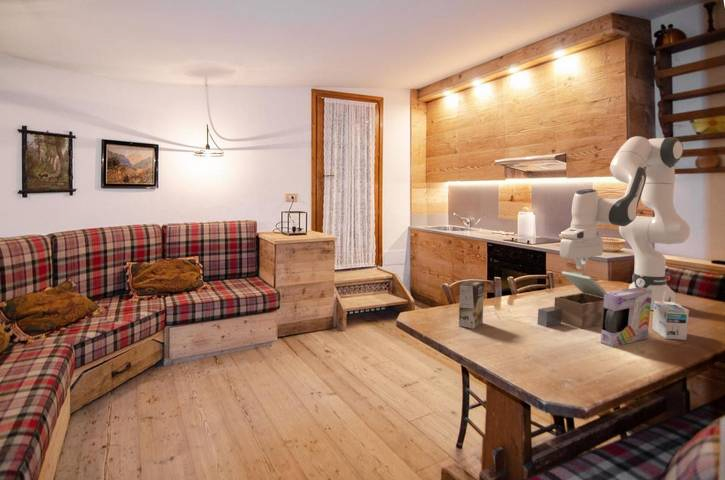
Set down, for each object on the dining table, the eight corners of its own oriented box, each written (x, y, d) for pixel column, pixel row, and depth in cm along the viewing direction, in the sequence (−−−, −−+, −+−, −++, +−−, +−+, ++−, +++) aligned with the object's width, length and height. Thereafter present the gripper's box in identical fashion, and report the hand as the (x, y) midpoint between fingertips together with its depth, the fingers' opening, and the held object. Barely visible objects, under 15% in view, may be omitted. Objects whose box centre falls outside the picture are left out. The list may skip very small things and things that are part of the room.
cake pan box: (610, 348, 139) (614, 295, 137) (596, 343, 144) (600, 291, 142) (649, 339, 147) (653, 289, 145) (635, 335, 152) (639, 286, 149)
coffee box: (474, 329, 158) (476, 286, 156) (458, 326, 161) (459, 284, 159) (483, 322, 165) (484, 281, 163) (467, 319, 169) (468, 279, 167)
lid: (582, 292, 175) (584, 288, 175) (610, 299, 164) (612, 295, 165) (561, 273, 168) (563, 269, 168) (589, 279, 158) (591, 274, 158)
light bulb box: (687, 340, 146) (690, 309, 145) (665, 339, 148) (667, 308, 146) (671, 330, 157) (674, 301, 155) (650, 329, 158) (653, 300, 157)
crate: (580, 314, 176) (582, 292, 175) (608, 322, 166) (610, 299, 164) (553, 319, 169) (554, 297, 168) (581, 328, 158) (582, 304, 157)
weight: (552, 321, 167) (553, 306, 167) (561, 324, 164) (561, 308, 163) (537, 324, 164) (538, 309, 163) (546, 327, 160) (547, 311, 160)
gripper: (593, 230, 170) (591, 265, 171) (557, 233, 161) (555, 269, 162) (608, 232, 164) (606, 268, 166) (572, 234, 155) (570, 272, 157)
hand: (580, 268), depth 164 cm, fingers closed
